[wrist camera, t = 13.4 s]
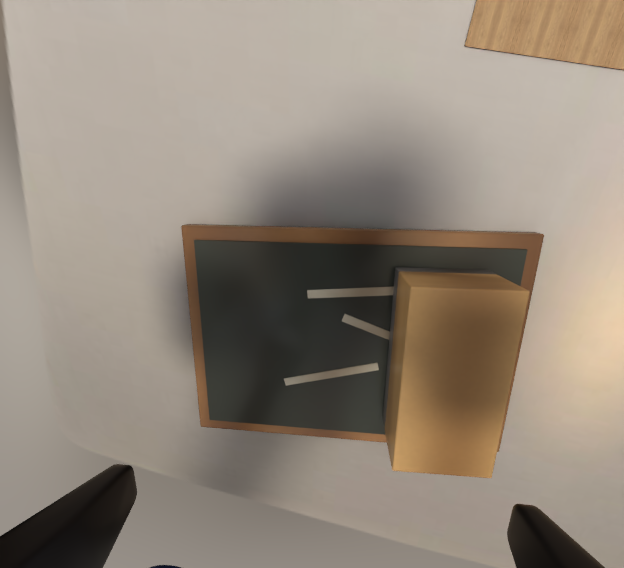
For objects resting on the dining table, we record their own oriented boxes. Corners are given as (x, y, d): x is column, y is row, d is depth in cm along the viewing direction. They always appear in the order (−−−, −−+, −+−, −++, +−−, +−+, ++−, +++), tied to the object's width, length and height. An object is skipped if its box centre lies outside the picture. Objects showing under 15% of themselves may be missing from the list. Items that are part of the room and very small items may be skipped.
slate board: (205, 419, 23) (198, 429, 22) (187, 224, 20) (178, 225, 18) (493, 443, 21) (500, 455, 20) (536, 232, 18) (547, 234, 17)
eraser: (382, 419, 21) (392, 471, 17) (395, 266, 18) (410, 286, 14) (462, 424, 20) (492, 479, 16) (488, 269, 17) (530, 290, 14)
